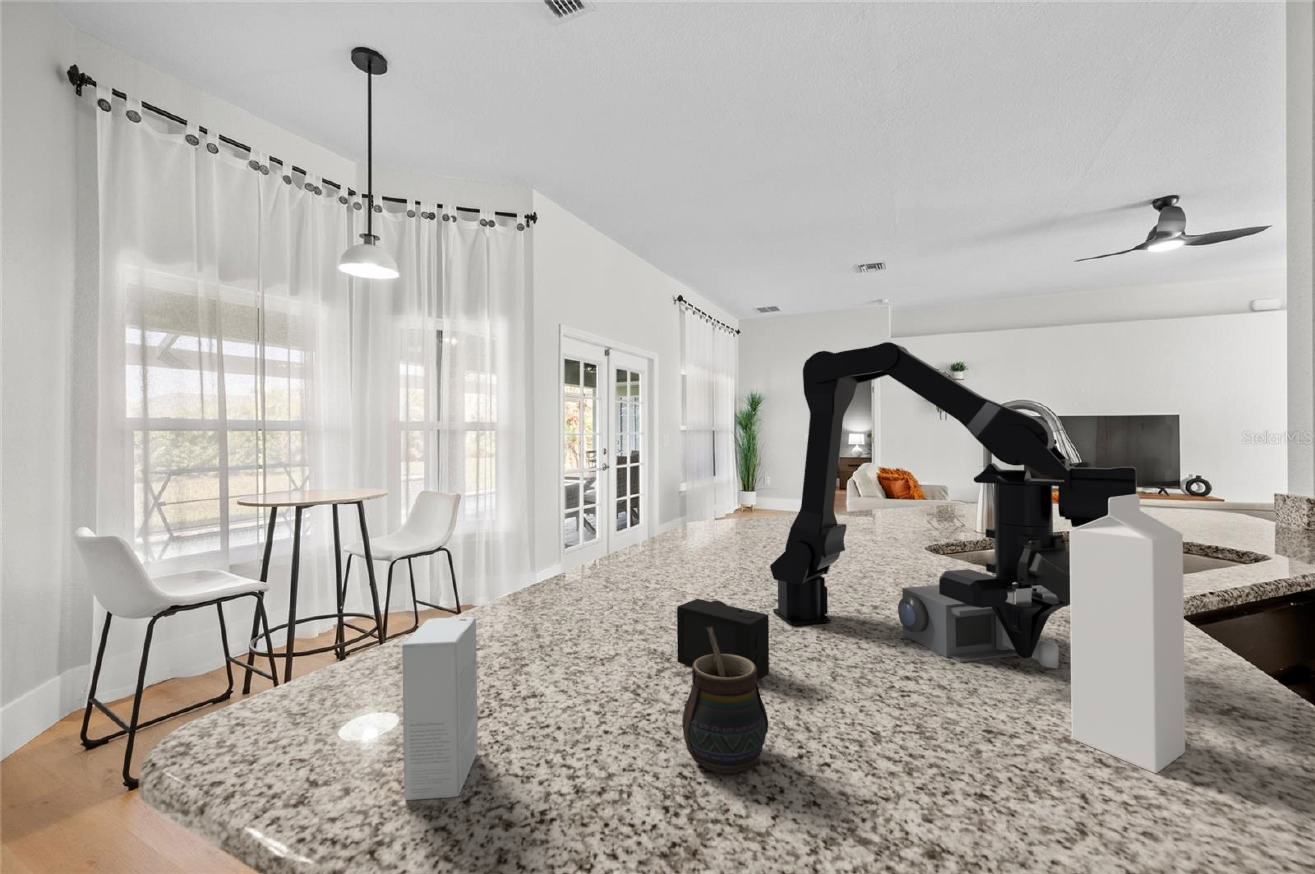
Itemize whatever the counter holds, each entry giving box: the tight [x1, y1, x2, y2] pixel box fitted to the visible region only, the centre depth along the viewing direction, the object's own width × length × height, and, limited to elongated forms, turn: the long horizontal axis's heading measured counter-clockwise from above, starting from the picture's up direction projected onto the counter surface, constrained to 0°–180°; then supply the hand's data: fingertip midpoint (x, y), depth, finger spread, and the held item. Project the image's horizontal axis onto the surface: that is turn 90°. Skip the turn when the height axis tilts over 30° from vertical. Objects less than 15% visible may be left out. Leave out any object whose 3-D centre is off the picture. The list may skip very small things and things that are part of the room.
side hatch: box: [996, 615, 1060, 669], centre depth 65 cm, size 6×7×5 cm
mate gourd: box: [681, 626, 769, 775], centre depth 46 cm, size 7×8×10 cm
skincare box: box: [401, 616, 479, 801], centre depth 44 cm, size 6×4×12 cm
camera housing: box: [897, 584, 1019, 663], centre depth 71 cm, size 16×10×7 cm, turn 103°
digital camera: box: [676, 598, 770, 683], centre depth 65 cm, size 10×5×7 cm, turn 50°
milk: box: [1069, 493, 1186, 774], centre depth 47 cm, size 6×6×22 cm
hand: (1024, 657), depth 63 cm, fingers closed
